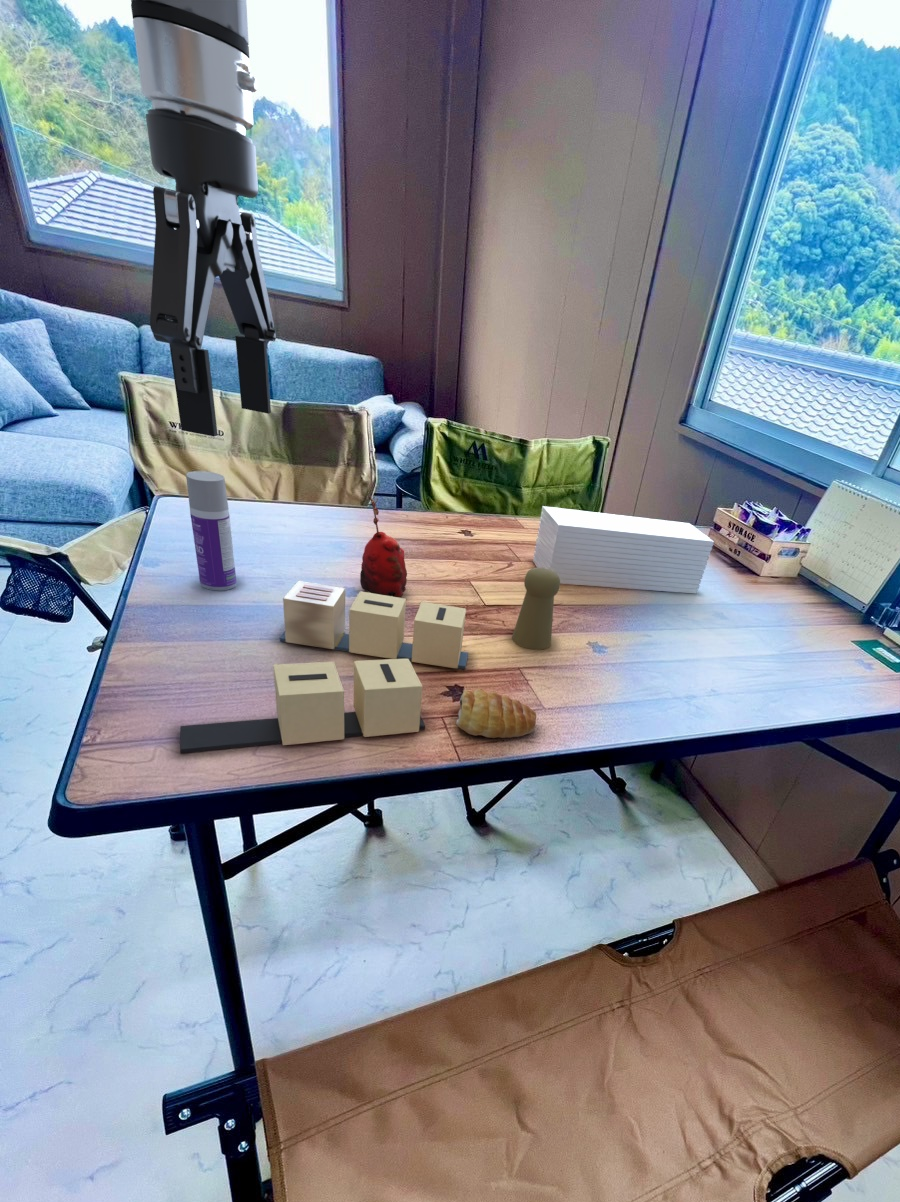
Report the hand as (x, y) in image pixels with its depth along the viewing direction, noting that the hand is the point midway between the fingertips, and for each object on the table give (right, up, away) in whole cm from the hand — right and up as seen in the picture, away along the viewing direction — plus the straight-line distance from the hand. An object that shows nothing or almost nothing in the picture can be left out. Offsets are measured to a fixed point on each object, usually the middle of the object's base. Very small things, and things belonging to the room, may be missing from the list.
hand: (230, 421), depth 60 cm
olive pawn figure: (+28, -16, +34) cm, 47 cm away
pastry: (+24, -29, +14) cm, 40 cm away
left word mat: (+5, -30, +7) cm, 31 cm away
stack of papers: (+44, +1, +64) cm, 78 cm away
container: (-17, -8, +30) cm, 36 cm away
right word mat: (+8, -19, +23) cm, 31 cm away
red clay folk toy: (+4, -7, +38) cm, 39 cm away
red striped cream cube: (0, -17, +22) cm, 28 cm away
